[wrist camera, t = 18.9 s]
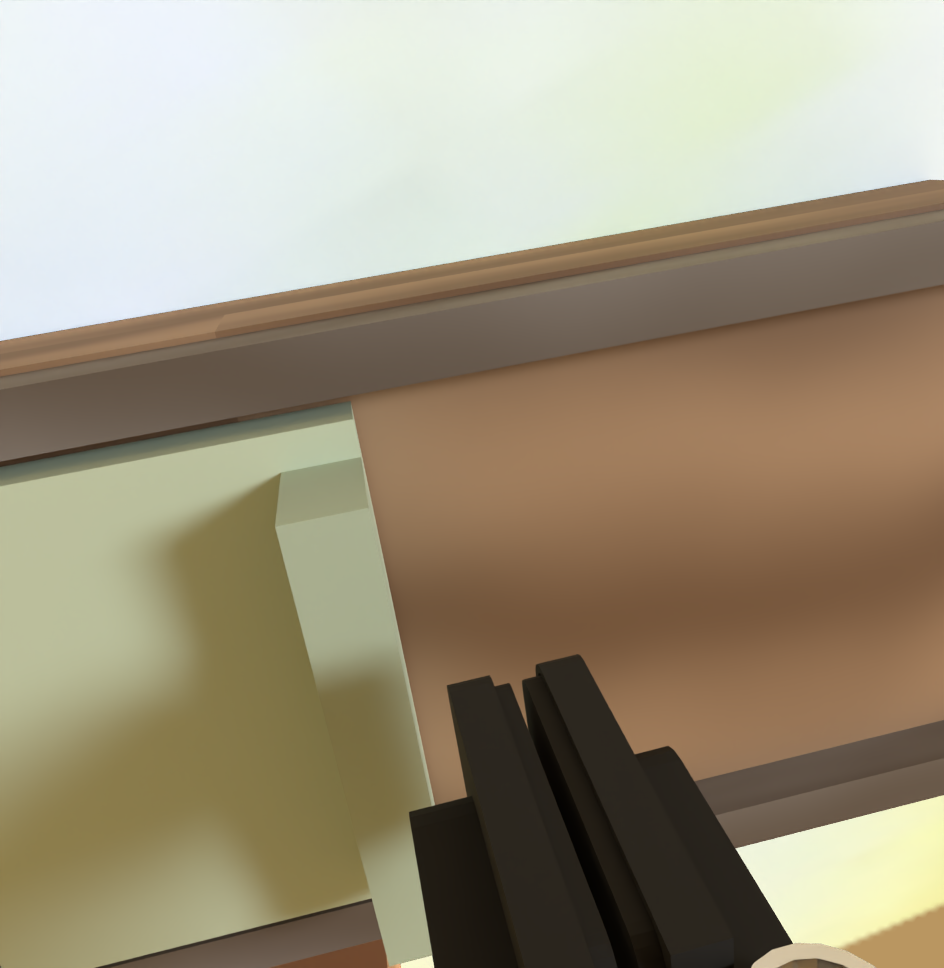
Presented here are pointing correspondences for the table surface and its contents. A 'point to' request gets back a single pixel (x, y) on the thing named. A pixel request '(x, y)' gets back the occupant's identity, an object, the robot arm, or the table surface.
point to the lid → (201, 696)
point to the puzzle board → (609, 489)
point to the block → (347, 958)
